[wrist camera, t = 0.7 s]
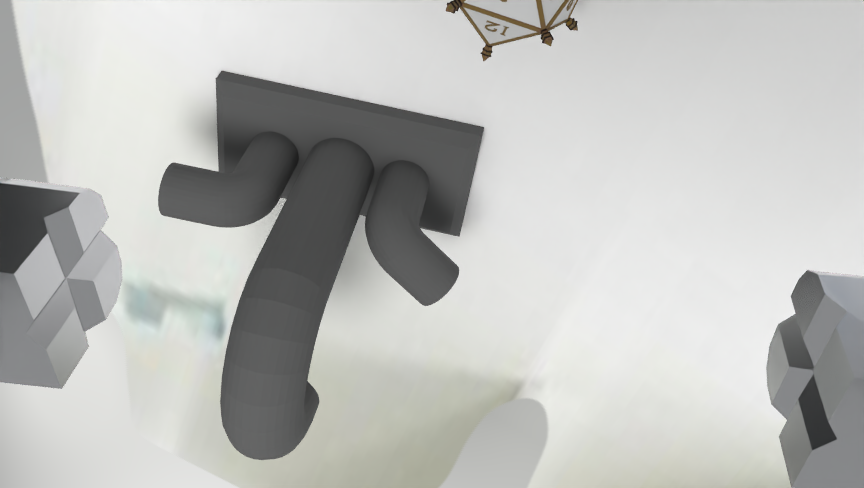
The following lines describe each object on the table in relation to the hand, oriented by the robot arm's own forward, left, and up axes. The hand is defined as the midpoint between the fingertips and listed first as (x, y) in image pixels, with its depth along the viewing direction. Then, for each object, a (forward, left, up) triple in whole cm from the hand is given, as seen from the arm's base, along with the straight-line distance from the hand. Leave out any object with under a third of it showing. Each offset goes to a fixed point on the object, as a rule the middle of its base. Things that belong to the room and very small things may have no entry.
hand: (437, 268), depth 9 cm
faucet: (+10, +28, -37) cm, 47 cm away
